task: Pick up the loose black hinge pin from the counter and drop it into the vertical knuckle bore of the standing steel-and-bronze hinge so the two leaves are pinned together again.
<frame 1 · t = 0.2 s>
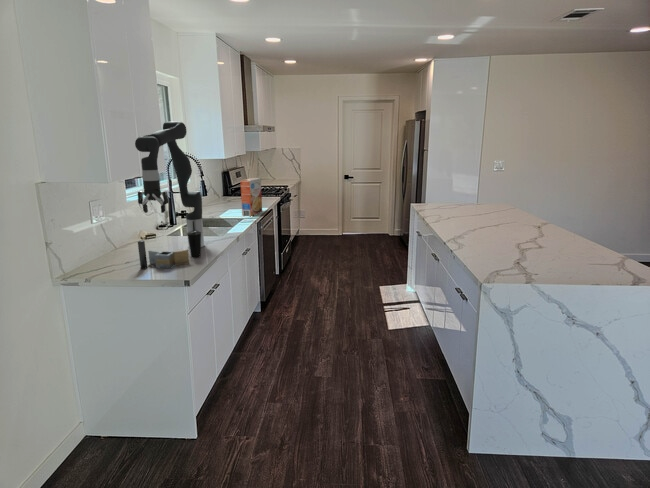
hand: (154, 212, 208), 29 cm above the countertop, tool pointing down, fingers open, 8 cm apart
pasta box: (252, 214, 364), on the countertop
hinge pin: (144, 268, 216), on the countertop
drinking cup: (196, 257, 237), on the countertop
hinge: (166, 266, 219), on the countertop
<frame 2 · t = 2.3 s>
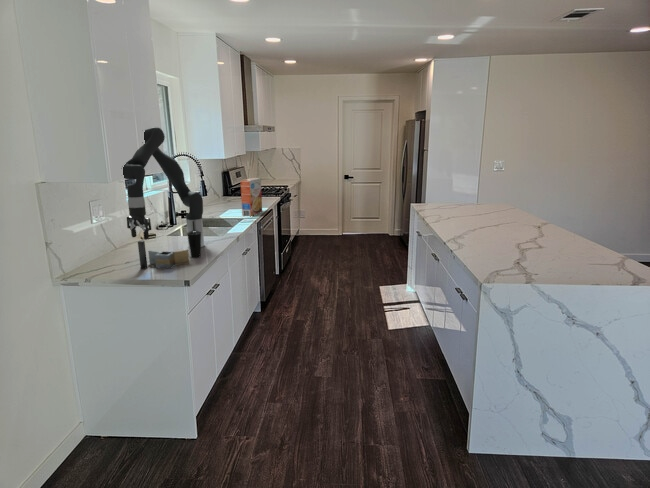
hand: (140, 237, 212), 16 cm above the countertop, tool pointing down, fingers open, 8 cm apart
nothing on the countertop moved.
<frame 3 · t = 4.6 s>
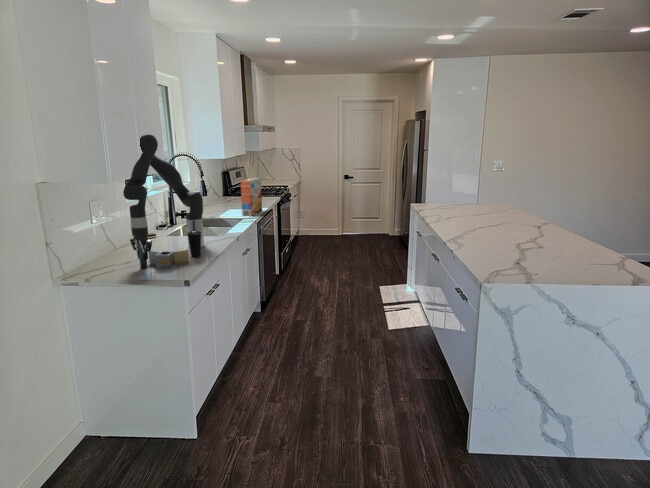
hand: (143, 258, 215), 5 cm above the countertop, tool pointing down, fingers closed on hinge pin, 3 cm apart
hinge pin: (144, 268, 216), on the countertop, touching gripper
everything else where it was.
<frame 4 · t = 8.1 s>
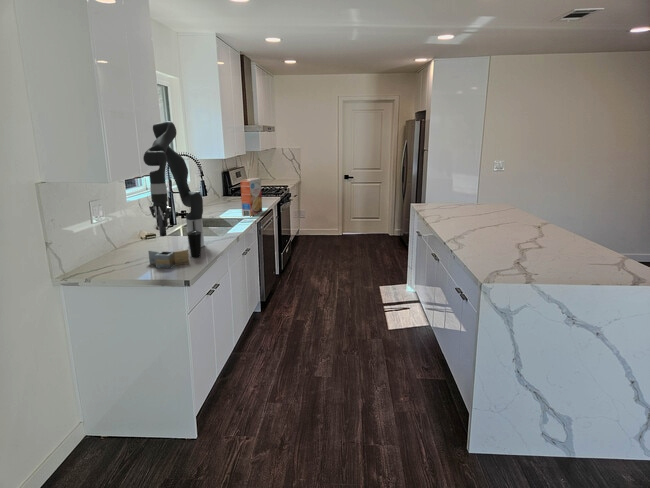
hand: (162, 226, 214), 21 cm above the countertop, tool pointing down, fingers closed on hinge pin, 3 cm apart
hinge pin: (163, 235, 215), point 16 cm above the countertop, touching gripper
everything else where it was.
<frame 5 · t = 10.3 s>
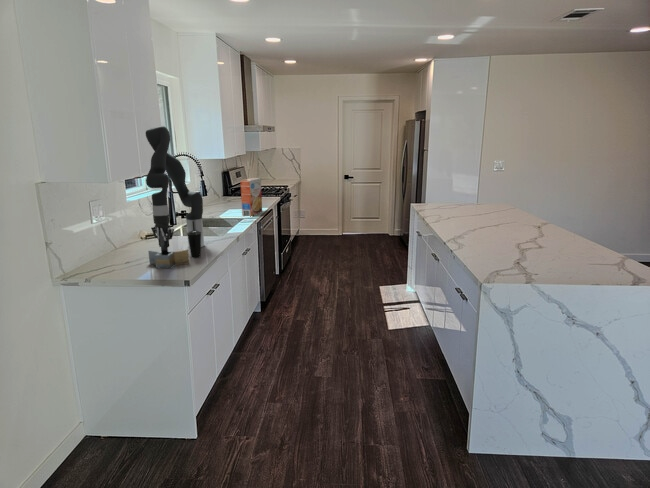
hand: (164, 246, 217), 10 cm above the countertop, tool pointing down, fingers closed on hinge pin, 3 cm apart
hinge pin: (165, 256, 218), point 5 cm above the countertop, touching gripper
everything else where it was.
when the fingers open (8 cm above the countertop, at t = 11.9 s): hinge pin drops 3 cm, resting in hinge.
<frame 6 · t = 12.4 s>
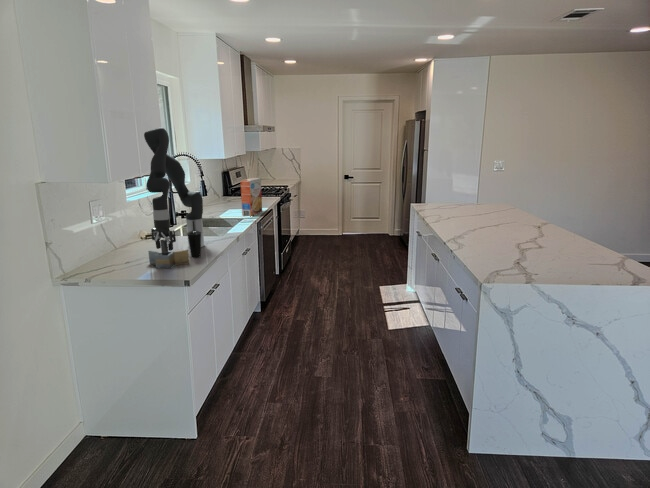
hand: (164, 249, 217), 9 cm above the countertop, tool pointing down, fingers open, 8 cm apart
hinge pin: (166, 266, 219), resting in hinge
everything else where it was.
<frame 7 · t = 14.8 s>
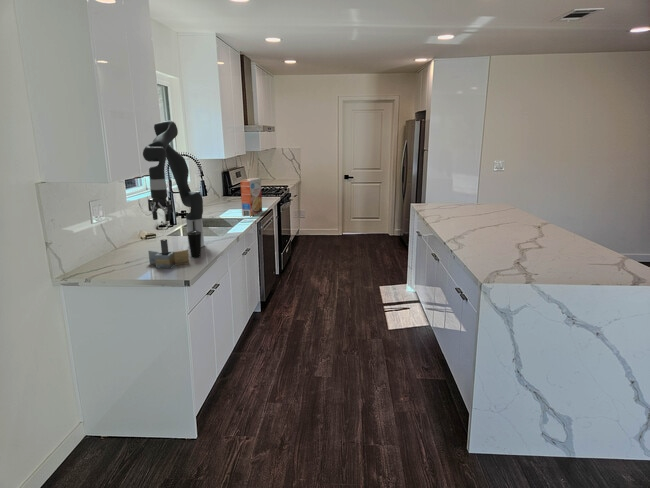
hand: (161, 220, 213), 24 cm above the countertop, tool pointing down, fingers open, 8 cm apart
nothing on the countertop moved.
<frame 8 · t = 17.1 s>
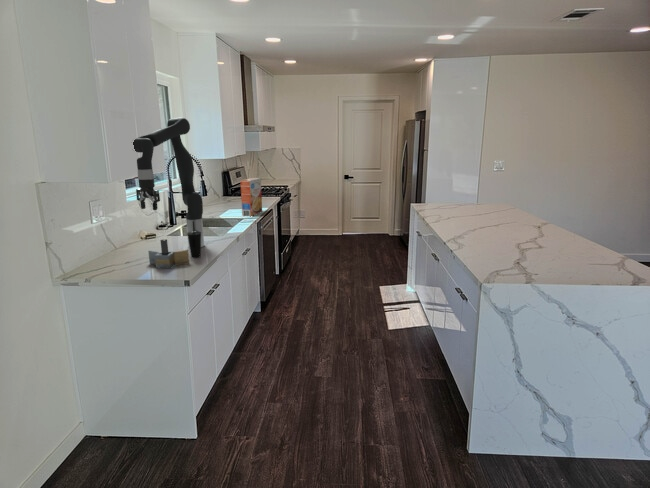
hand: (149, 209, 222), 28 cm above the countertop, tool pointing down, fingers open, 8 cm apart
nothing on the countertop moved.
at the end: hinge pin 0.0 cm off-centre on the hinge, point 0.0 cm above the hinge's base; hinge pin tilted 0°; the gripper is holding nothing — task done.
